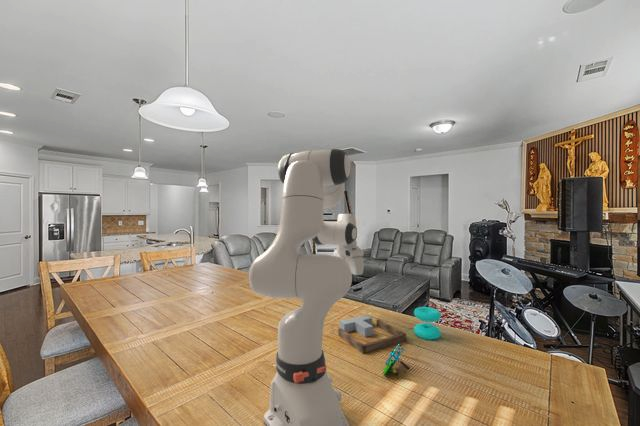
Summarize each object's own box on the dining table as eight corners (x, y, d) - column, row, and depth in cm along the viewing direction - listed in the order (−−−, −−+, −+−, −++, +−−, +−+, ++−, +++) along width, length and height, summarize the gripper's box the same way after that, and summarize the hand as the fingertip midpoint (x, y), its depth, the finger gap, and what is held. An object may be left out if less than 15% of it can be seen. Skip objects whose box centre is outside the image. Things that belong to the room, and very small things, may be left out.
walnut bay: (406, 340, 106) (406, 334, 106) (362, 353, 97) (362, 346, 97) (378, 325, 121) (378, 319, 121) (338, 335, 111) (338, 328, 111)
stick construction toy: (388, 350, 95) (400, 338, 91) (406, 365, 93) (419, 353, 89) (375, 377, 86) (387, 364, 81) (394, 394, 83) (408, 382, 79)
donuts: (446, 312, 108) (425, 316, 105) (446, 338, 108) (425, 342, 105) (428, 304, 117) (408, 307, 114) (428, 328, 118) (408, 331, 114)
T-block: (382, 332, 114) (382, 323, 114) (354, 339, 107) (354, 330, 107) (366, 322, 123) (366, 314, 123) (339, 329, 117) (339, 320, 117)
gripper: (328, 247, 132) (329, 276, 132) (353, 253, 114) (353, 287, 114) (340, 246, 135) (340, 274, 135) (366, 252, 117) (366, 285, 117)
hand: (346, 280), depth 124 cm, fingers closed
